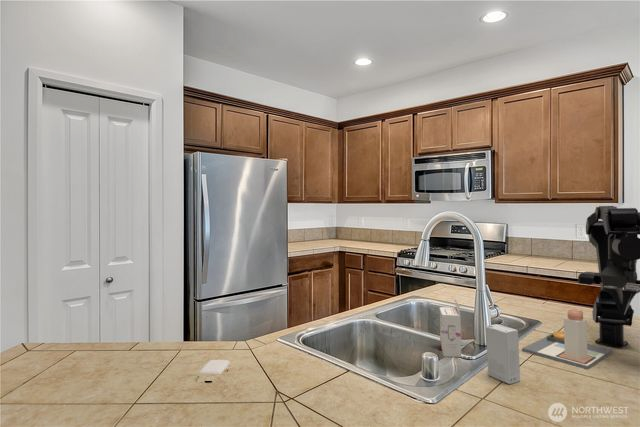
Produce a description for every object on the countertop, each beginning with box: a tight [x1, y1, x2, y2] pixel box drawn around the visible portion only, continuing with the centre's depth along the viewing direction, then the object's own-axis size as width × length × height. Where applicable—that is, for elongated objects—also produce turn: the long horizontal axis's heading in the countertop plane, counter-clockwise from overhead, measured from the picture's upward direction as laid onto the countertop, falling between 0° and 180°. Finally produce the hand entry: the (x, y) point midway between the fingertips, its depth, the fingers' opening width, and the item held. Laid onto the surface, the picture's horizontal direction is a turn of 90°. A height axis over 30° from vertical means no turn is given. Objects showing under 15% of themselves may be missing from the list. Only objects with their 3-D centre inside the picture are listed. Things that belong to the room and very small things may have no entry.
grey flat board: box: [521, 333, 613, 370], centre depth 107 cm, size 18×16×2 cm
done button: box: [552, 331, 564, 340], centre depth 113 cm, size 4×4×2 cm
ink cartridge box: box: [439, 297, 462, 358], centre depth 108 cm, size 9×5×15 cm, turn 168°
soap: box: [198, 359, 231, 375], centre depth 96 cm, size 9×7×3 cm
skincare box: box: [485, 323, 521, 385], centre depth 91 cm, size 6×4×12 cm
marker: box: [563, 309, 588, 360], centre depth 100 cm, size 4×4×12 cm
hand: (622, 314), depth 100 cm, fingers closed
